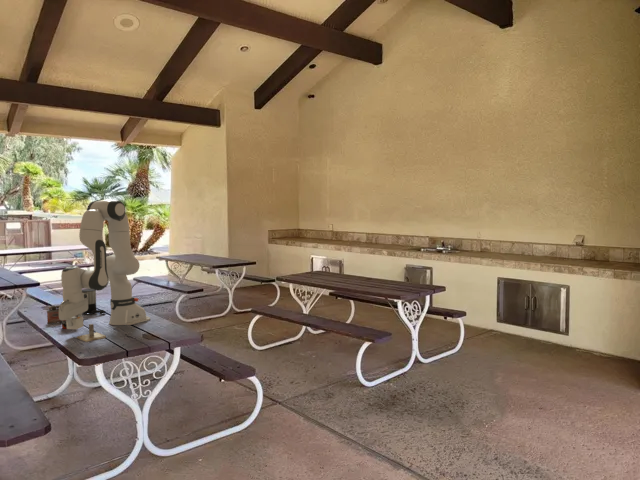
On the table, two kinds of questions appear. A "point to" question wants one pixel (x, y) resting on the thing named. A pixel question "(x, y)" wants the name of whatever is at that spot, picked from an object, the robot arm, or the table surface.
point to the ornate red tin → (53, 315)
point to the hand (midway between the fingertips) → (74, 324)
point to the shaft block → (91, 335)
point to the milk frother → (91, 301)
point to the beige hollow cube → (76, 323)
